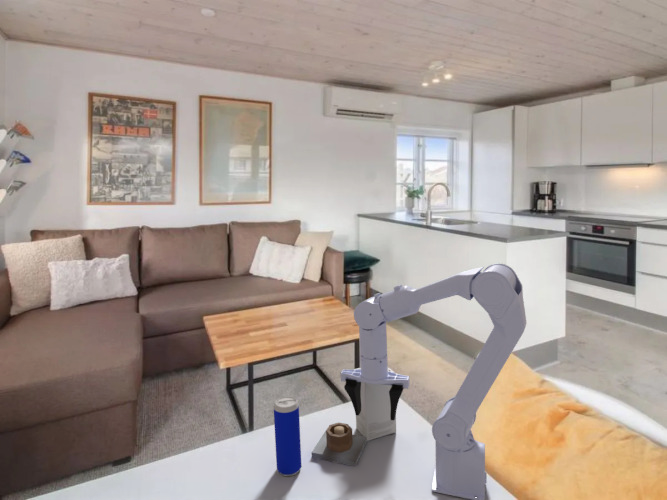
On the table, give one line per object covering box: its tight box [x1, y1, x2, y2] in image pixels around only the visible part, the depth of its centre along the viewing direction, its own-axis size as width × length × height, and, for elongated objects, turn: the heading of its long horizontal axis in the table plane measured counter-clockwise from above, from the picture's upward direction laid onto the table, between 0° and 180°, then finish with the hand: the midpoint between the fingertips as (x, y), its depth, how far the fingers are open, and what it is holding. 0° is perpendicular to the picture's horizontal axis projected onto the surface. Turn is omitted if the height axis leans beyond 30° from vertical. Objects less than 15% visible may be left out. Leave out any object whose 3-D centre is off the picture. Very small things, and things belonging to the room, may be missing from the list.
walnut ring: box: [325, 422, 353, 453], centre depth 90 cm, size 5×5×4 cm
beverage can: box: [273, 395, 302, 477], centre depth 84 cm, size 5×5×15 cm
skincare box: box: [355, 366, 397, 442], centre depth 96 cm, size 8×7×16 cm
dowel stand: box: [311, 426, 368, 467], centre depth 90 cm, size 10×9×5 cm
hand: (375, 415), depth 86 cm, fingers open, 7 cm apart
